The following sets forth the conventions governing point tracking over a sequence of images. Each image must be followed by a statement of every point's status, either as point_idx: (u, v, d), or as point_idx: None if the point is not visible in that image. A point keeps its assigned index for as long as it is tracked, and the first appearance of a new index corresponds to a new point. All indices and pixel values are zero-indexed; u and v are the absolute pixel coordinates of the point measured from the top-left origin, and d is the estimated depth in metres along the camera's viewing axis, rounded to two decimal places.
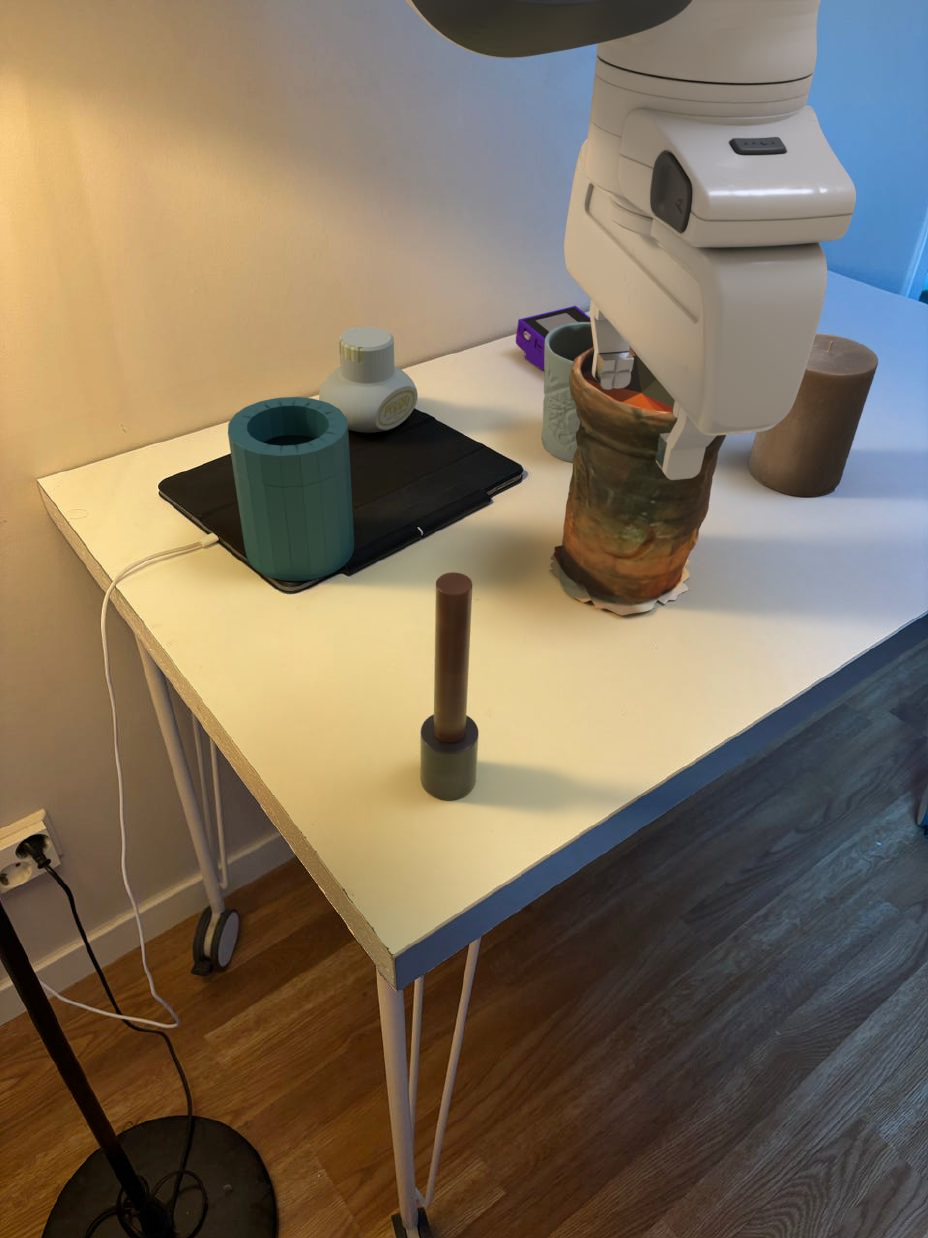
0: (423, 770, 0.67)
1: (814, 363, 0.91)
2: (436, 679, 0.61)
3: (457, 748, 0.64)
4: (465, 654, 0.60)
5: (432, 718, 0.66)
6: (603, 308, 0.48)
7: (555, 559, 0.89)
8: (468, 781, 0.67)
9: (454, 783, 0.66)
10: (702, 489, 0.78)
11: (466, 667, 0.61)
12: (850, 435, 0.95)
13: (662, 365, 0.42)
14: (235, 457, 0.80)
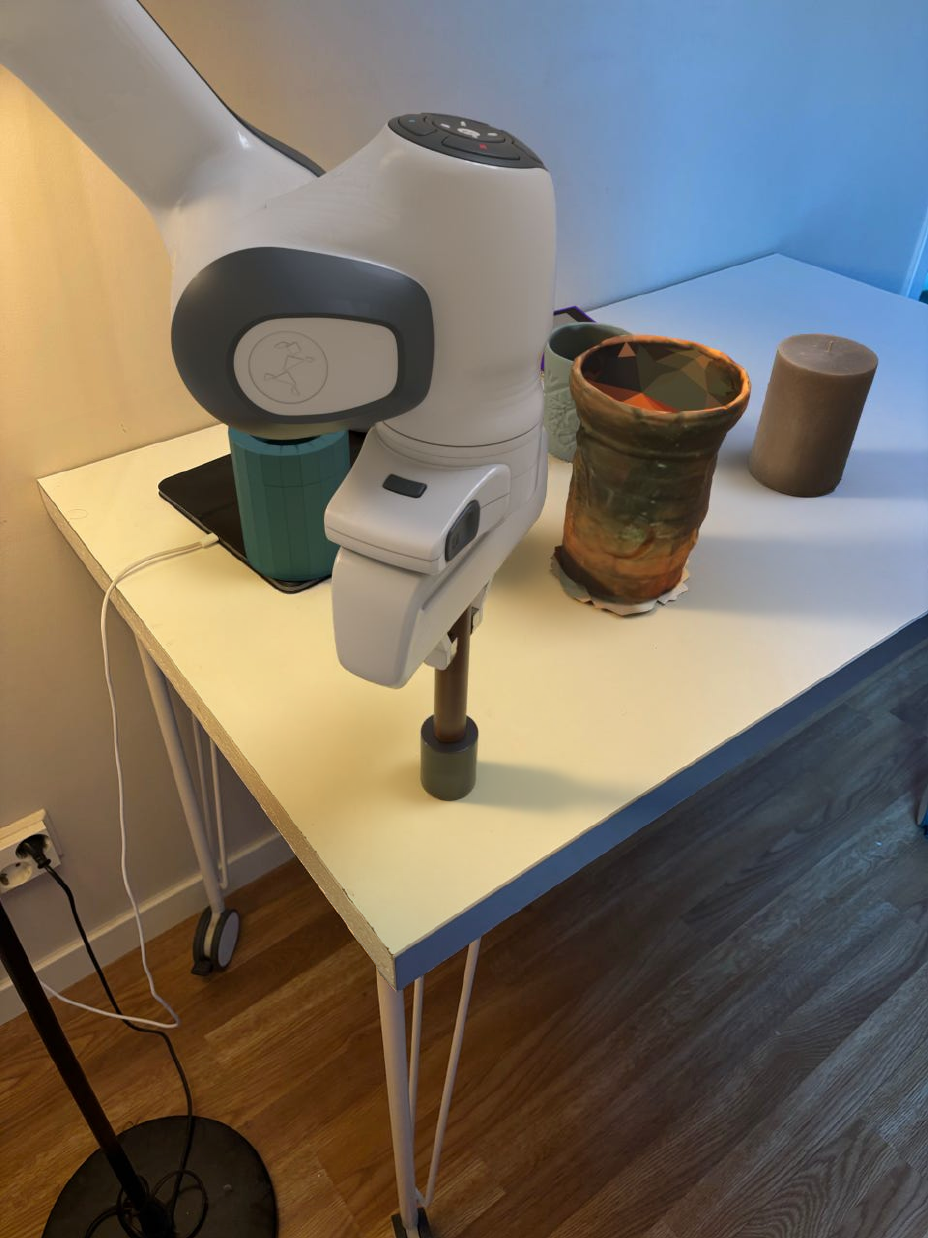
0: (423, 770, 0.67)
1: (814, 363, 0.91)
2: (436, 679, 0.61)
3: (457, 748, 0.64)
4: (465, 654, 0.60)
5: (432, 718, 0.66)
6: None
7: (555, 559, 0.89)
8: (468, 781, 0.67)
9: (453, 783, 0.66)
10: (702, 489, 0.78)
11: (466, 667, 0.61)
12: (850, 435, 0.95)
13: None
14: (235, 457, 0.80)
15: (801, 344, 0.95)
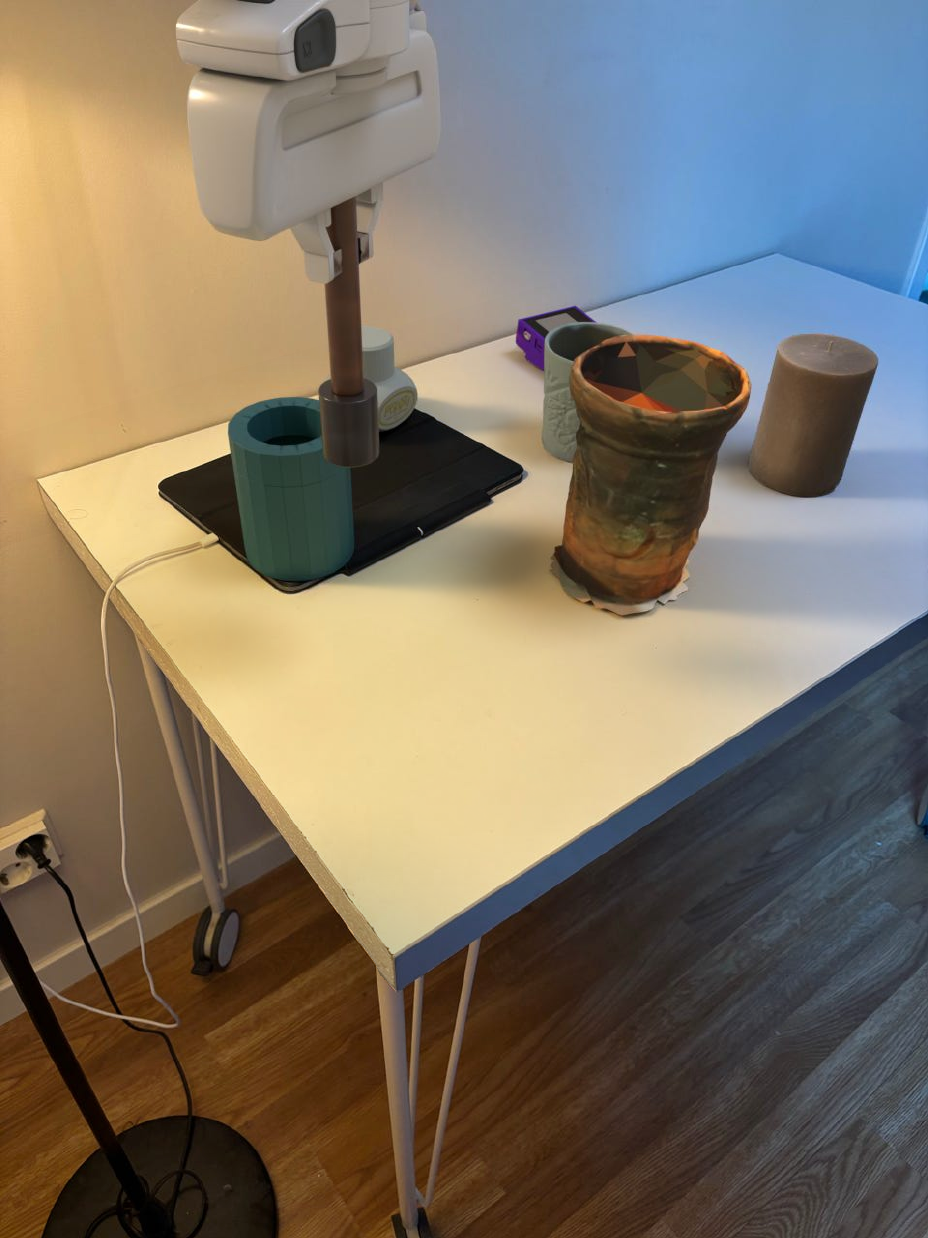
0: (323, 434, 0.66)
1: (814, 363, 0.91)
2: (327, 313, 0.61)
3: (353, 399, 0.64)
4: (353, 278, 0.59)
5: None
6: None
7: (555, 559, 0.89)
8: (368, 446, 0.66)
9: (352, 445, 0.65)
10: (702, 489, 0.78)
11: (356, 297, 0.60)
12: (850, 435, 0.95)
13: None
14: (235, 457, 0.80)
15: (801, 344, 0.95)
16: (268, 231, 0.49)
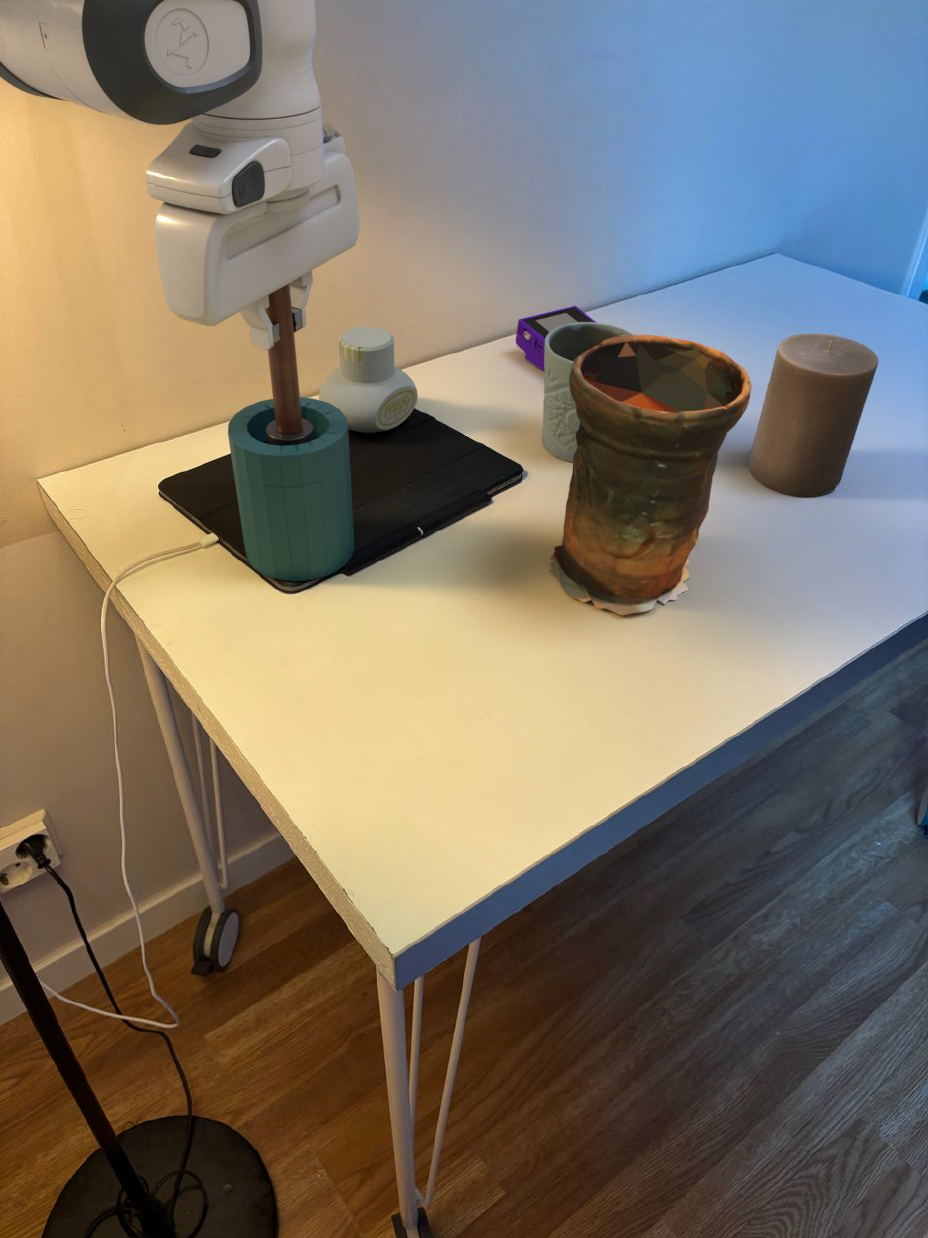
0: None
1: (814, 363, 0.91)
2: (270, 370, 0.77)
3: (293, 437, 0.80)
4: (289, 344, 0.75)
5: None
6: None
7: (555, 559, 0.89)
8: None
9: None
10: (702, 489, 0.78)
11: (293, 358, 0.76)
12: (850, 435, 0.95)
13: None
14: (235, 457, 0.80)
15: (801, 344, 0.95)
16: (217, 319, 0.66)
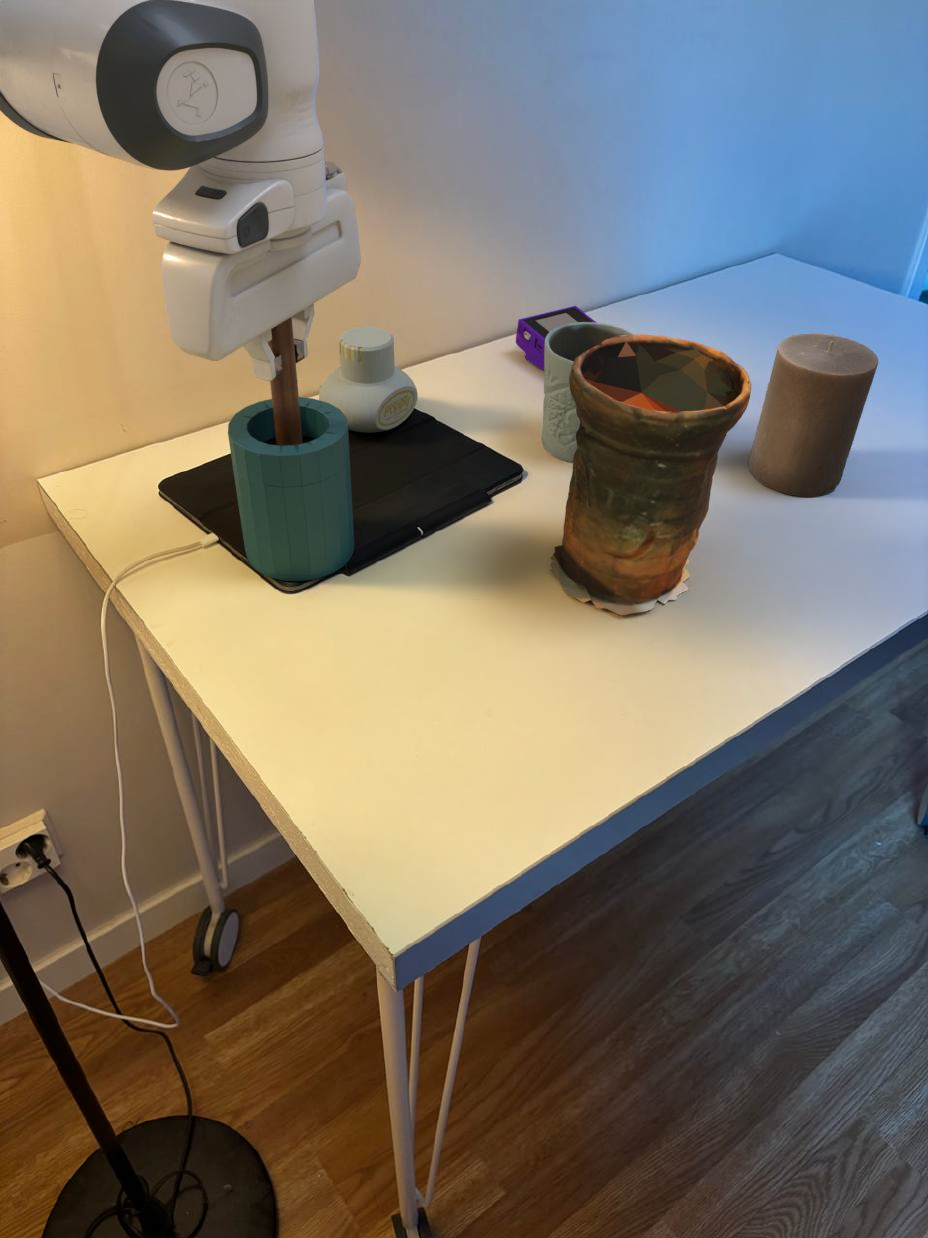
0: None
1: (814, 363, 0.91)
2: (272, 400, 0.79)
3: None
4: (291, 375, 0.77)
5: None
6: None
7: (555, 559, 0.89)
8: None
9: None
10: (702, 489, 0.78)
11: (294, 388, 0.78)
12: (850, 435, 0.95)
13: None
14: (235, 457, 0.80)
15: (801, 344, 0.95)
16: (221, 354, 0.67)
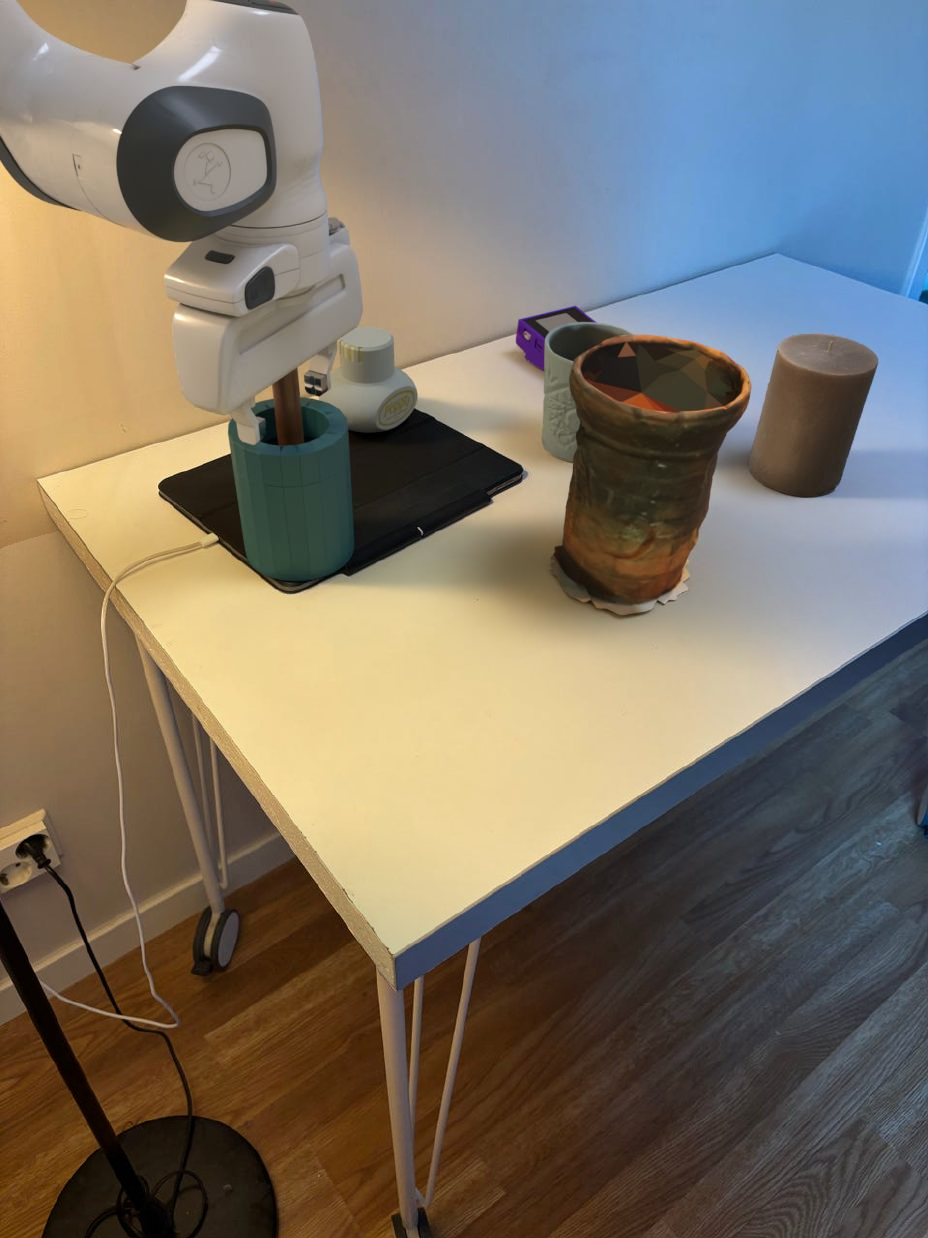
0: None
1: (814, 363, 0.91)
2: None
3: None
4: (297, 424, 0.80)
5: None
6: None
7: (555, 559, 0.89)
8: None
9: None
10: (702, 489, 0.78)
11: (300, 436, 0.81)
12: (850, 435, 0.95)
13: None
14: (235, 457, 0.80)
15: (801, 344, 0.95)
16: (229, 409, 0.70)
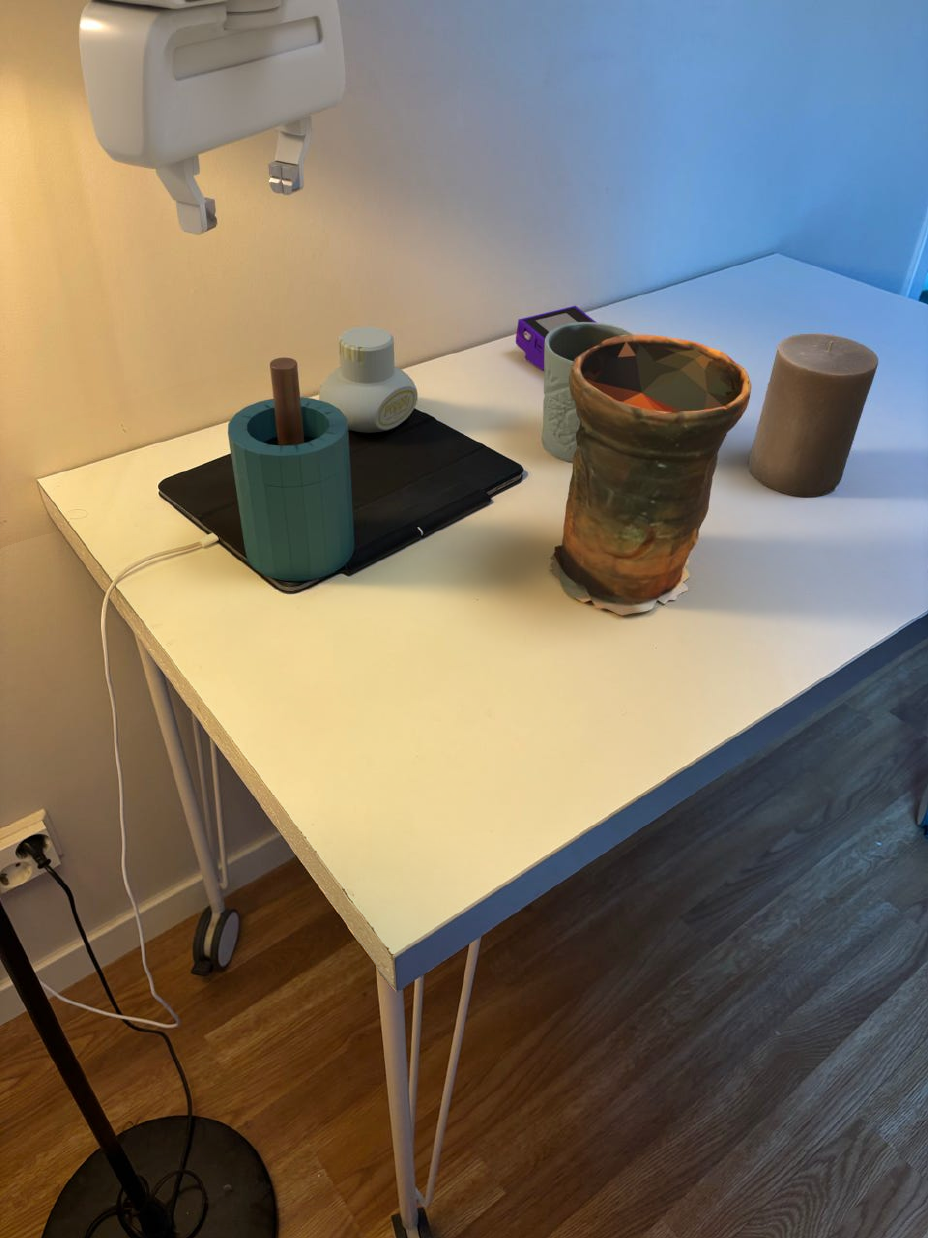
0: None
1: (814, 363, 0.91)
2: None
3: None
4: (297, 424, 0.80)
5: None
6: None
7: (555, 559, 0.89)
8: None
9: None
10: (702, 489, 0.78)
11: (300, 436, 0.81)
12: (850, 435, 0.95)
13: None
14: (235, 457, 0.80)
15: (801, 344, 0.95)
16: (161, 159, 0.51)
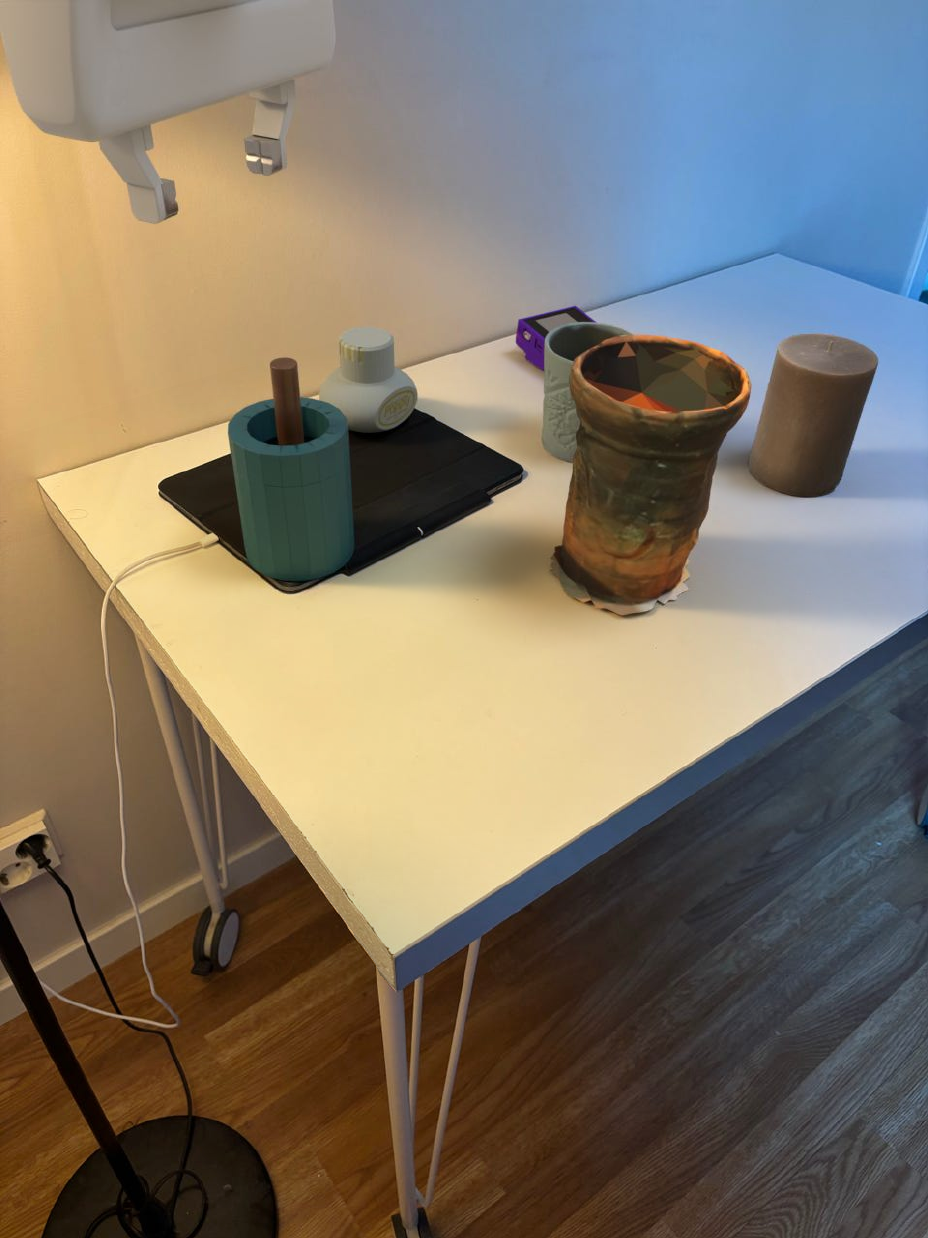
0: None
1: (814, 363, 0.91)
2: None
3: None
4: (297, 424, 0.80)
5: None
6: None
7: (555, 559, 0.89)
8: None
9: None
10: (702, 489, 0.78)
11: (300, 436, 0.81)
12: (850, 435, 0.95)
13: None
14: (235, 457, 0.80)
15: (801, 344, 0.95)
16: (100, 129, 0.41)
